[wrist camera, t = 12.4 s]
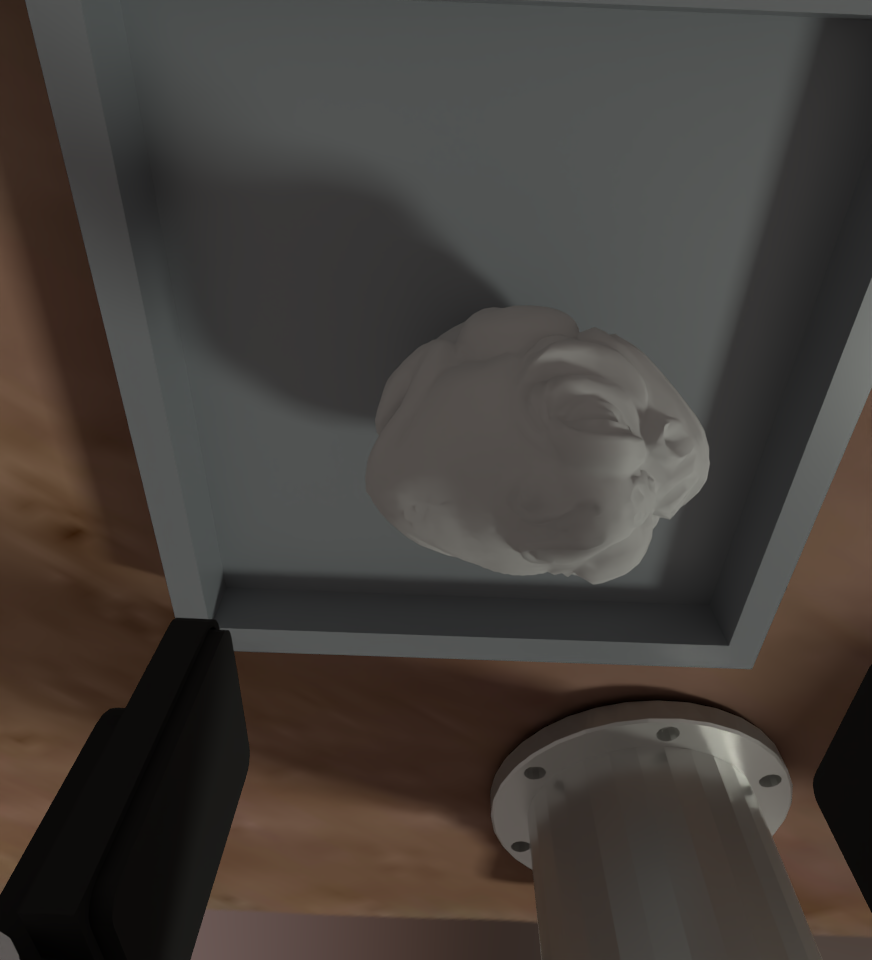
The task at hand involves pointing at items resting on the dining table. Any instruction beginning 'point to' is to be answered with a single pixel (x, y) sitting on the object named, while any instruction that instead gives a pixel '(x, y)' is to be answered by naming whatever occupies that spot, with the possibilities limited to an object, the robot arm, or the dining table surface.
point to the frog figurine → (533, 446)
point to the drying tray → (468, 285)
